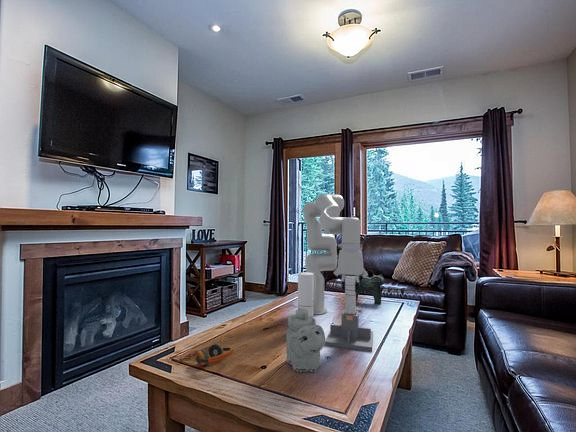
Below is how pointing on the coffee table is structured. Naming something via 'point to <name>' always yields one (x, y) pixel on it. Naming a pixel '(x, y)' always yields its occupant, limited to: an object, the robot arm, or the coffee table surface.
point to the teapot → (304, 342)
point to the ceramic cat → (371, 287)
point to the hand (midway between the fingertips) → (350, 290)
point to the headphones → (212, 354)
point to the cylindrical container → (306, 291)
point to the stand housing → (350, 334)
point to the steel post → (350, 295)
